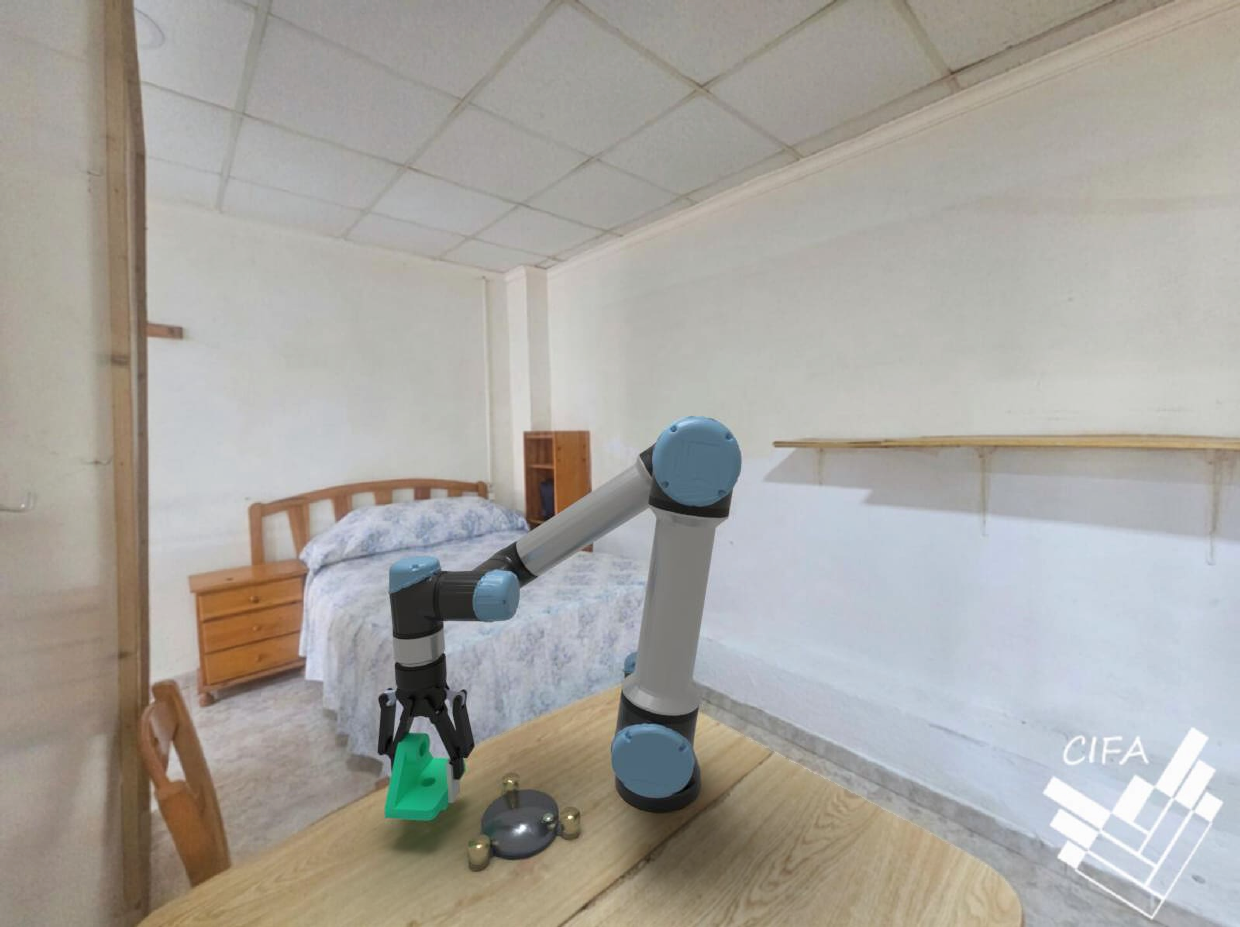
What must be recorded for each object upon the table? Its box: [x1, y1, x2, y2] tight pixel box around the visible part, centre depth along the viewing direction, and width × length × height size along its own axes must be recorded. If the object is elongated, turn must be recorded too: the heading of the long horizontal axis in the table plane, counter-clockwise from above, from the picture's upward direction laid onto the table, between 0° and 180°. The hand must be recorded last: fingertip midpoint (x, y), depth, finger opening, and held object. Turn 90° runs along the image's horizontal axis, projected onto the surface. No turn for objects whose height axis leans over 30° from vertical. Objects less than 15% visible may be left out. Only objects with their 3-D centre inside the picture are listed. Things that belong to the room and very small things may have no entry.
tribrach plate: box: [467, 772, 581, 872], centre depth 81 cm, size 16×17×3 cm
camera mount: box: [383, 732, 467, 821], centre depth 82 cm, size 12×8×10 cm, turn 172°
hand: (429, 795), depth 82 cm, fingers closed on camera mount, 8 cm apart
